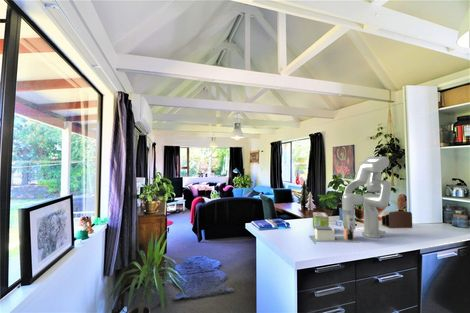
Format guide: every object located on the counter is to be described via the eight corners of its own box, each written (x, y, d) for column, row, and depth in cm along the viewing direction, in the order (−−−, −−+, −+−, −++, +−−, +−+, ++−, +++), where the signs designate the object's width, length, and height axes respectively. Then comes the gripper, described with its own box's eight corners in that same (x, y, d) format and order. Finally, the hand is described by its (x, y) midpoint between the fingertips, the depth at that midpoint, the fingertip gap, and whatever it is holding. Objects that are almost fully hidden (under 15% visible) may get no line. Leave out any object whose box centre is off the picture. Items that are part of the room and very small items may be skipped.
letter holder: (412, 228, 192) (412, 211, 193) (389, 228, 192) (389, 211, 192) (403, 225, 202) (403, 209, 203) (381, 225, 202) (381, 209, 202)
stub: (351, 238, 163) (350, 228, 163) (353, 240, 159) (353, 230, 159) (343, 238, 163) (343, 228, 163) (346, 240, 159) (346, 229, 159)
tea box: (329, 236, 172) (328, 216, 173) (315, 235, 174) (314, 215, 175) (325, 230, 187) (325, 212, 187) (312, 229, 189) (312, 211, 189)
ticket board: (350, 237, 168) (350, 225, 168) (360, 244, 154) (359, 230, 154) (309, 237, 169) (309, 224, 170) (314, 243, 155) (314, 230, 156)
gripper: (359, 215, 153) (360, 242, 152) (348, 210, 170) (349, 234, 169) (347, 214, 153) (348, 242, 153) (338, 209, 170) (338, 234, 169)
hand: (348, 238), depth 161 cm, fingers closed on stub, 4 cm apart
